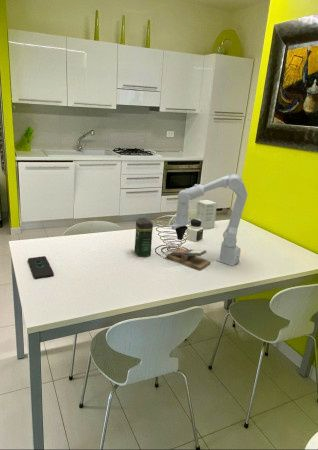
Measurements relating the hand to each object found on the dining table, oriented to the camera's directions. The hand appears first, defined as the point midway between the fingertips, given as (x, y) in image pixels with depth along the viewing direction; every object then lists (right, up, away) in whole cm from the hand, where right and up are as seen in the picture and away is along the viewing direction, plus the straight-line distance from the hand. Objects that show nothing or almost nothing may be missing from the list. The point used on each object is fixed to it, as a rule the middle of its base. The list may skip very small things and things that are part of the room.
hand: (179, 239), depth 176 cm
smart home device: (-64, -13, -21) cm, 69 cm away
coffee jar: (-19, -7, +1) cm, 21 cm away
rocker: (+4, -7, -5) cm, 9 cm away
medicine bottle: (+10, -1, +26) cm, 28 cm away
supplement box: (+19, +6, +50) cm, 54 cm away
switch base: (+4, -11, -4) cm, 12 cm away
